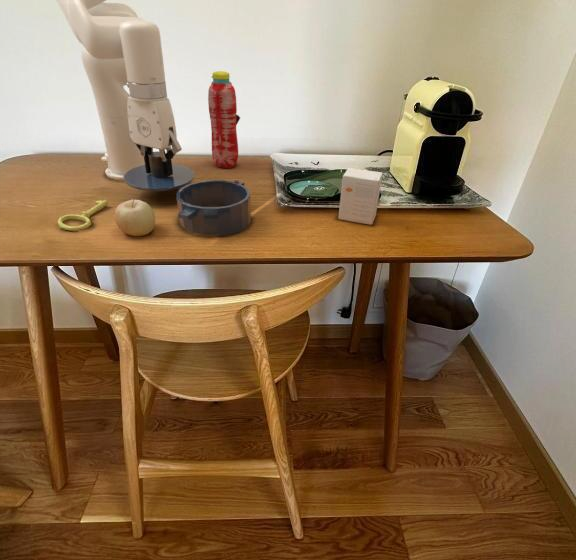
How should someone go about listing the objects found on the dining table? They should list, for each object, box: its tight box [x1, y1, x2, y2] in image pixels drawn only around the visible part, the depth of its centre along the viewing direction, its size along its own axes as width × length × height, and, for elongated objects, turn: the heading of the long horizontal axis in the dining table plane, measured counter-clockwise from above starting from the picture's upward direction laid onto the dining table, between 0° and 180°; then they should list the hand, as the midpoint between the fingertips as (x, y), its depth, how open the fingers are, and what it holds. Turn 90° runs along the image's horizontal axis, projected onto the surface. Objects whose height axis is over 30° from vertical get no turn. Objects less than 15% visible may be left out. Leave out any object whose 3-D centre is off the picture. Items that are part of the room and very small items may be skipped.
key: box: [57, 199, 109, 232], centre depth 86 cm, size 7×12×2 cm, turn 177°
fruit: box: [113, 196, 156, 237], centre depth 80 cm, size 8×7×8 cm
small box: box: [337, 167, 383, 226], centre depth 89 cm, size 8×6×10 cm
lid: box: [123, 150, 196, 192], centre depth 94 cm, size 16×16×6 cm
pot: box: [176, 179, 252, 238], centre depth 86 cm, size 15×21×6 cm
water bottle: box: [207, 70, 241, 169], centre depth 112 cm, size 12×8×25 cm, turn 167°
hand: (159, 173), depth 94 cm, fingers closed on lid, 4 cm apart
